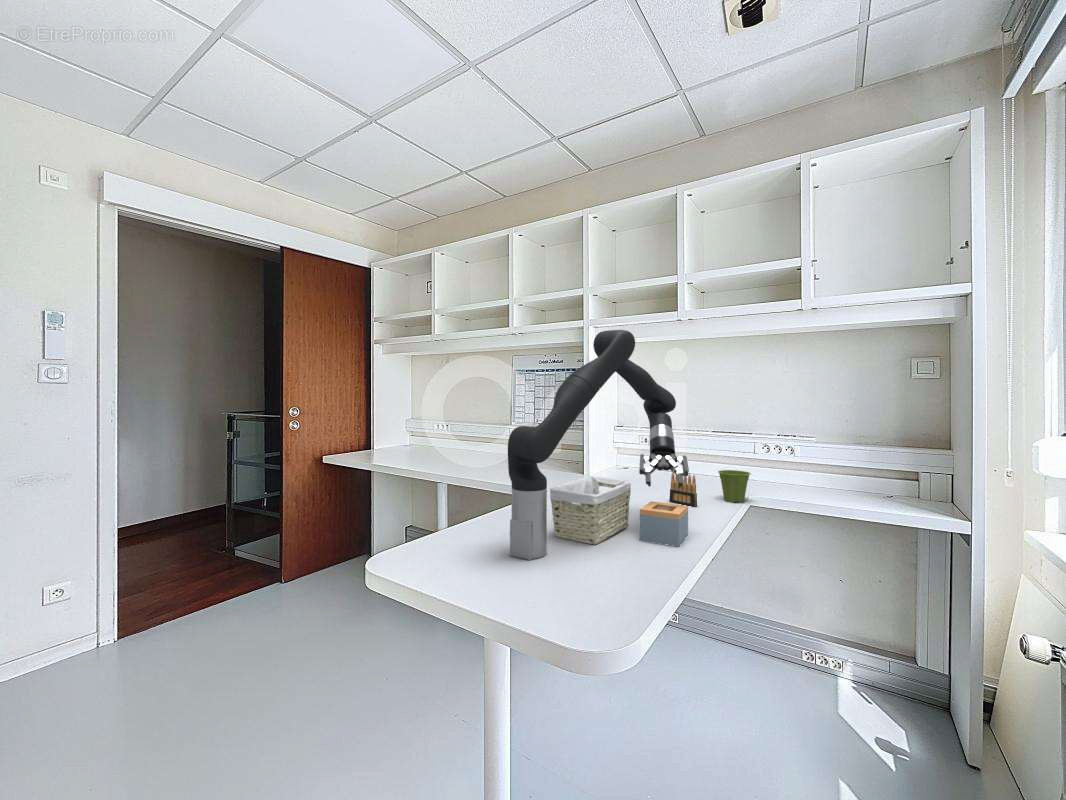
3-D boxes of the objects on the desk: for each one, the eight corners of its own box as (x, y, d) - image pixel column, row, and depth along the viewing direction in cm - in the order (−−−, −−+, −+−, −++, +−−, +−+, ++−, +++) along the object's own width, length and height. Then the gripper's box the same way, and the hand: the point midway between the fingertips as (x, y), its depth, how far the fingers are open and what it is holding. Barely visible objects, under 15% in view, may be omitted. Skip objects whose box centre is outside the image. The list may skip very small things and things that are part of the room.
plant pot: (752, 499, 186) (752, 471, 186) (748, 505, 176) (748, 475, 176) (720, 496, 192) (720, 468, 192) (714, 502, 182) (715, 472, 182)
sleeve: (678, 547, 129) (679, 514, 129) (639, 540, 135) (639, 509, 134) (687, 536, 138) (688, 506, 138) (650, 530, 144) (651, 501, 144)
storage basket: (595, 548, 128) (596, 494, 128) (546, 537, 138) (547, 486, 138) (632, 527, 147) (633, 481, 147) (587, 519, 157) (588, 475, 157)
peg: (668, 541, 134) (668, 509, 134) (654, 539, 136) (654, 508, 136) (672, 537, 137) (672, 506, 137) (658, 535, 139) (658, 505, 139)
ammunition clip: (669, 502, 181) (669, 471, 181) (671, 501, 182) (672, 470, 182) (694, 507, 173) (695, 475, 173) (697, 506, 174) (697, 474, 174)
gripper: (639, 434, 147) (640, 477, 136) (686, 435, 145) (691, 479, 134) (638, 449, 153) (639, 491, 142) (684, 450, 150) (688, 493, 139)
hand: (664, 485), depth 138 cm, fingers open, 8 cm apart
